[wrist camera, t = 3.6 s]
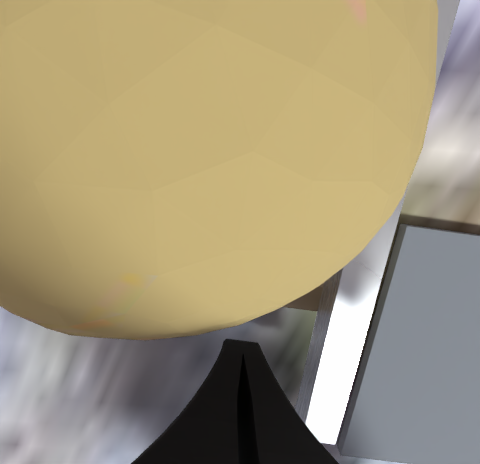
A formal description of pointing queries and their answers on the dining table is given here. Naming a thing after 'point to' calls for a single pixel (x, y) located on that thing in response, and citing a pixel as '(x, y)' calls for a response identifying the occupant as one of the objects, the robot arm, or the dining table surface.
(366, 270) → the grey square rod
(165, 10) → the light bulb
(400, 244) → the gray square panel
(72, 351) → the dining table surface
